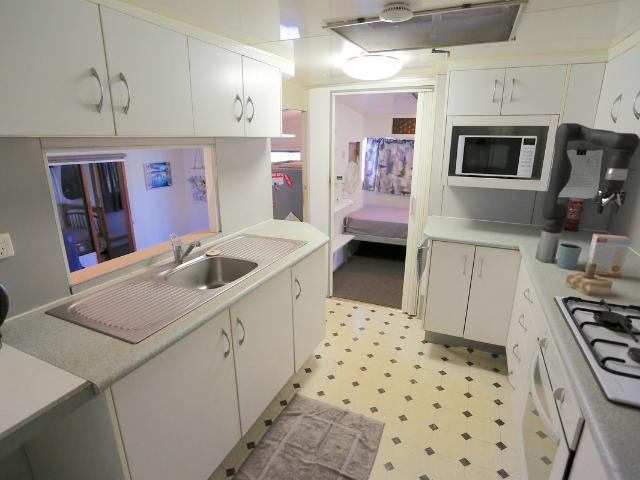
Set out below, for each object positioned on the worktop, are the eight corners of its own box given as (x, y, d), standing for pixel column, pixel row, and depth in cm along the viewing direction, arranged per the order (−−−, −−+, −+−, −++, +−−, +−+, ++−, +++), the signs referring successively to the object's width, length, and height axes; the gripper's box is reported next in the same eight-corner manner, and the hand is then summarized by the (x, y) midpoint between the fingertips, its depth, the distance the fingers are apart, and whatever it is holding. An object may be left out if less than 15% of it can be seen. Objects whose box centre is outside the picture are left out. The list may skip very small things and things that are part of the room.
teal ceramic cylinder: (552, 266, 198) (556, 245, 195) (558, 262, 205) (563, 242, 201) (573, 271, 191) (578, 249, 188) (579, 267, 197) (584, 246, 194)
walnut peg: (581, 285, 169) (586, 262, 166) (587, 284, 169) (592, 262, 166) (587, 287, 166) (592, 265, 163) (593, 287, 166) (598, 264, 163)
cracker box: (615, 274, 188) (625, 235, 182) (620, 278, 183) (631, 238, 177) (583, 270, 192) (593, 232, 186) (588, 274, 187) (597, 235, 181)
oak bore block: (565, 285, 172) (567, 273, 171) (585, 283, 175) (588, 272, 173) (587, 295, 161) (591, 283, 159) (609, 293, 164) (612, 281, 162)
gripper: (619, 177, 170) (611, 211, 174) (595, 177, 167) (587, 211, 171) (636, 179, 163) (627, 214, 167) (610, 179, 160) (602, 215, 164)
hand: (606, 213), depth 169 cm, fingers open, 8 cm apart
